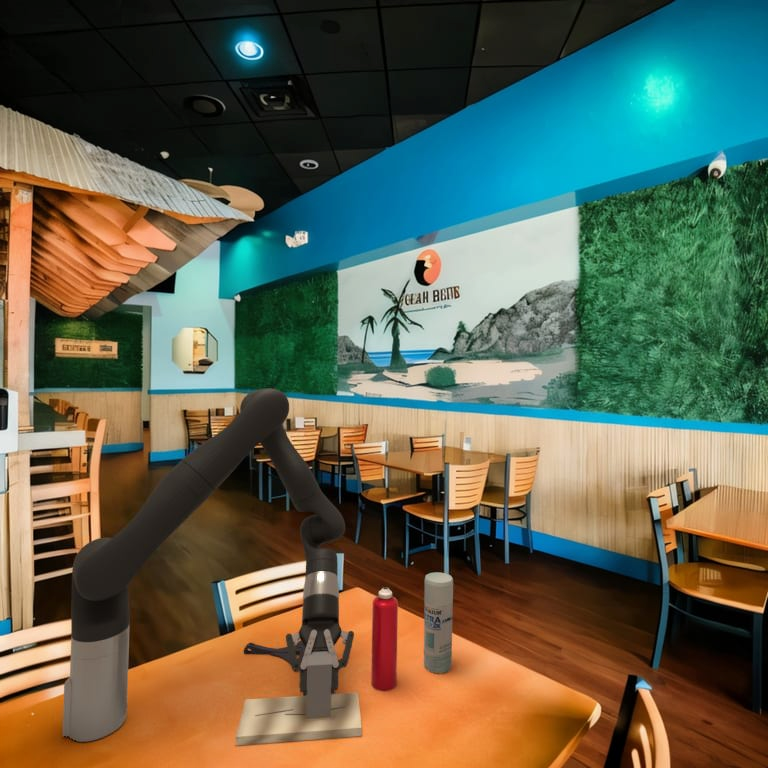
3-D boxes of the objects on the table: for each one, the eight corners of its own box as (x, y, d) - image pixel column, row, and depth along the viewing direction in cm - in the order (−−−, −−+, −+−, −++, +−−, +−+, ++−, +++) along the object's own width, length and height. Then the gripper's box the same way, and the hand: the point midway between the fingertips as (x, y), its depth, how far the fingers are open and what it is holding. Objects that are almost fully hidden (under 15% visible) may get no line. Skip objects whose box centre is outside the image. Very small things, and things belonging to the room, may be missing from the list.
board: (235, 745, 81) (235, 736, 81) (245, 707, 91) (245, 699, 91) (361, 736, 84) (361, 727, 84) (357, 699, 94) (357, 692, 94)
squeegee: (252, 639, 117) (253, 628, 117) (311, 640, 117) (311, 629, 117) (234, 674, 103) (234, 661, 103) (301, 675, 103) (301, 662, 103)
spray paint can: (417, 664, 107) (418, 576, 107) (437, 654, 111) (438, 569, 111) (438, 678, 102) (439, 585, 102) (457, 667, 106) (459, 578, 106)
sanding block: (305, 721, 85) (306, 665, 85) (306, 704, 90) (307, 652, 90) (330, 719, 86) (332, 664, 86) (330, 703, 90) (331, 650, 91)
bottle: (389, 694, 96) (390, 595, 96) (366, 685, 98) (368, 590, 99) (401, 680, 101) (402, 586, 101) (379, 672, 103) (380, 581, 104)
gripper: (285, 593, 95) (278, 690, 83) (355, 590, 97) (358, 686, 84) (287, 607, 100) (280, 701, 88) (353, 605, 102) (356, 696, 89)
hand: (319, 693), depth 86 cm, fingers closed on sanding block, 4 cm apart
